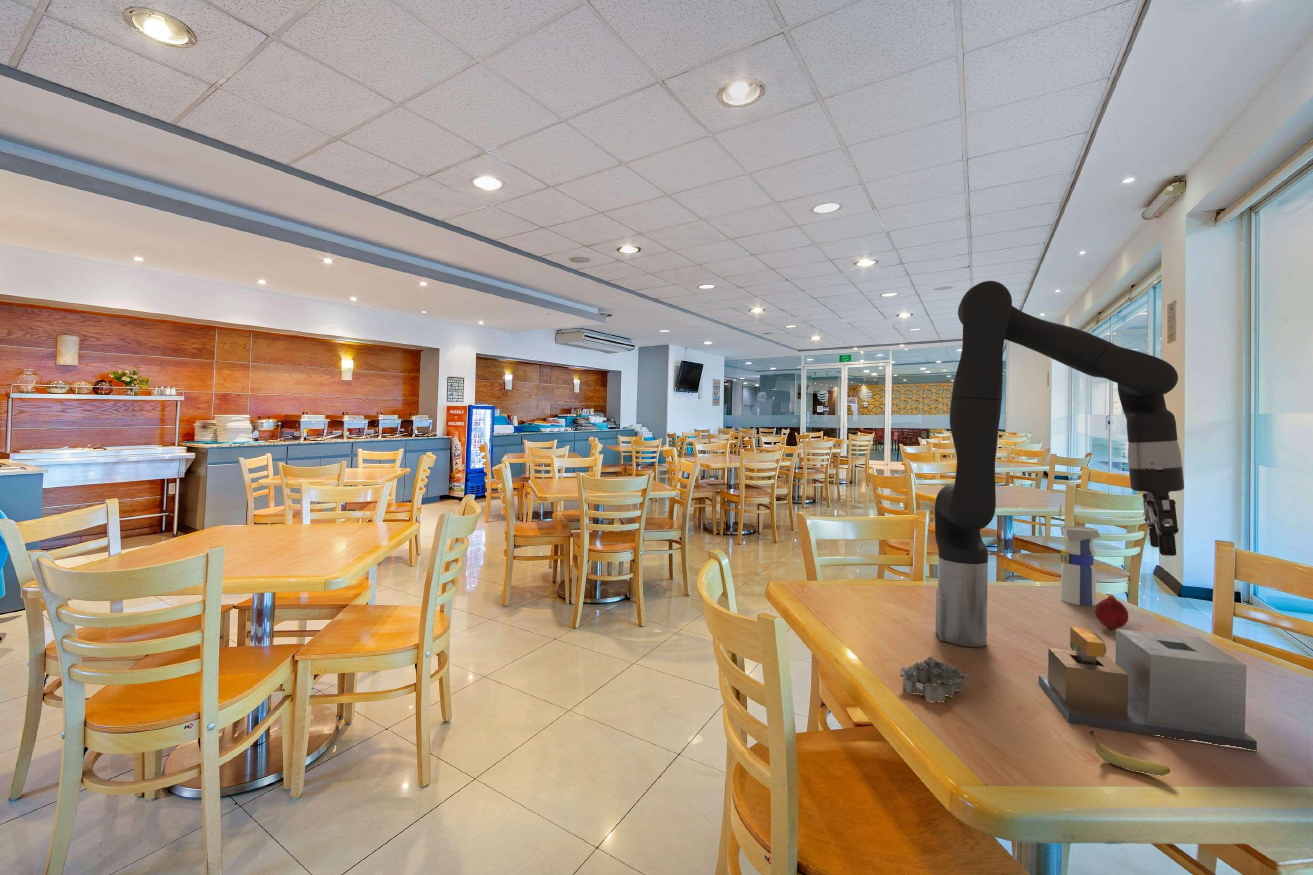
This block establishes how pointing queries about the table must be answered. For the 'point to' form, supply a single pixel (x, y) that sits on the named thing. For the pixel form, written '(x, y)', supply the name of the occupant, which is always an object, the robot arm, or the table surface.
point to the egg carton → (932, 679)
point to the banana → (1128, 760)
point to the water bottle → (1078, 565)
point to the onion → (1111, 613)
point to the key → (1086, 645)
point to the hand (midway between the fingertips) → (1163, 550)
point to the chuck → (1154, 689)
